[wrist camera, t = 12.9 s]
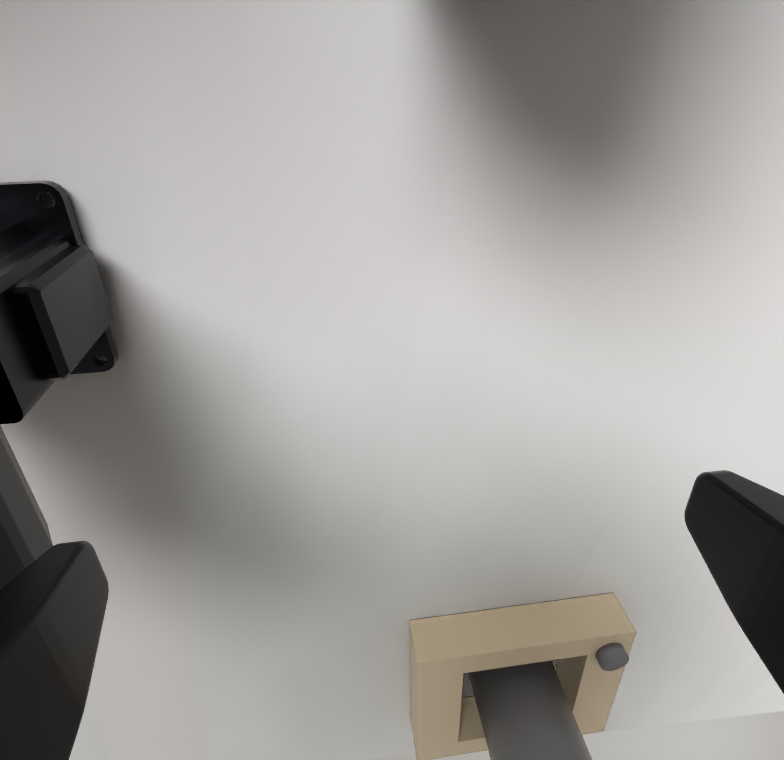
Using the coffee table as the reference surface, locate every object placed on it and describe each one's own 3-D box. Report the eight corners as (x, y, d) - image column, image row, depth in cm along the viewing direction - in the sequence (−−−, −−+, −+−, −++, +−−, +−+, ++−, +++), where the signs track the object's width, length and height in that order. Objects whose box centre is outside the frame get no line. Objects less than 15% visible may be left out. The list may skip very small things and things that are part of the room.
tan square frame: (410, 718, 34) (418, 772, 32) (409, 620, 29) (419, 674, 27) (585, 691, 36) (608, 740, 33) (613, 592, 31) (642, 641, 28)
